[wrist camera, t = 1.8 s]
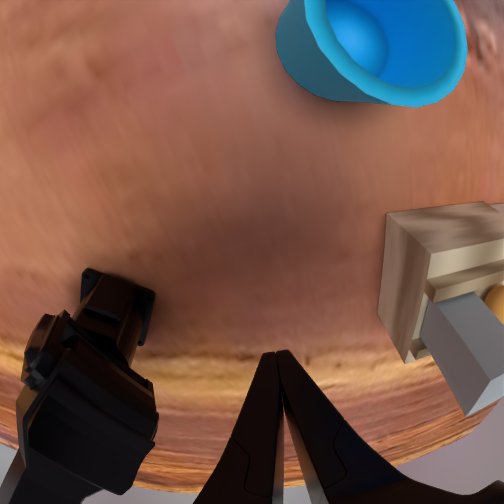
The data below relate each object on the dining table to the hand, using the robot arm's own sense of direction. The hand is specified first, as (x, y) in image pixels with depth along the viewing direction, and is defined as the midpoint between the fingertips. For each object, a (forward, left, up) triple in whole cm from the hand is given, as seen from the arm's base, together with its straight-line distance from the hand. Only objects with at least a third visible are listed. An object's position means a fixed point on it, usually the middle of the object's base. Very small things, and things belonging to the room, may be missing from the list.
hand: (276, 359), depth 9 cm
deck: (+2, -17, -13) cm, 21 cm away
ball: (+3, -18, -5) cm, 19 cm away
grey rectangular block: (+1, -14, -6) cm, 15 cm away
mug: (+15, 0, -13) cm, 20 cm away
